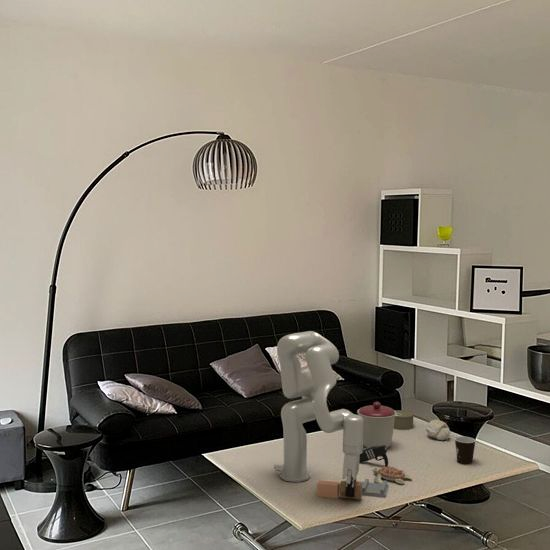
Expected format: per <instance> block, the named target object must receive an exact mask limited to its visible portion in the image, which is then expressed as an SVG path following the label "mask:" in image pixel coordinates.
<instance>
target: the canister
mask: <svg viewBox="0 0 550 550" xmlns="http://www.w3.org/2000/svg"><path fill="white" fill-rule="evenodd" d="M381 404H382V403H381V402H379V401H374V402H373V404H372V405H371V404H370V405H365V406H363V407H360V408H359V409H357V412H356V413H357V415H359V416H361V417H362V418H363V420H364V425H363V447H365V449H366V448H368V447H371V446H372V447H373V446H382V445H385V446H386V448H387V449H389V447H391V445H392V441H393V434H394V430H395V429H394V420H395V415H396V414H397V412H396V410H394V409H393V408H392V407H389V406H385V405H381Z"/></svg>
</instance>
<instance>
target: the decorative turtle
mask: <svg viewBox="0 0 550 550" xmlns="http://www.w3.org/2000/svg"><path fill="white" fill-rule="evenodd" d="M404 471H405V470H404V469H398V468H396V467H394V466H390V465H388V466H387V467H385V466H382V467H380V468H379V467H374V468H373V469H372V472H373V474H375V476H374V479H373V480H374V483H380V484H383V481H384V480H385V481H391V482H396V483H397V484H401V485H403V484H405V483H406V482H405V480H404V479H409V480H413V477H412V476H409V475H406V474H405V473H404ZM382 479H384V480H382Z"/></svg>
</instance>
